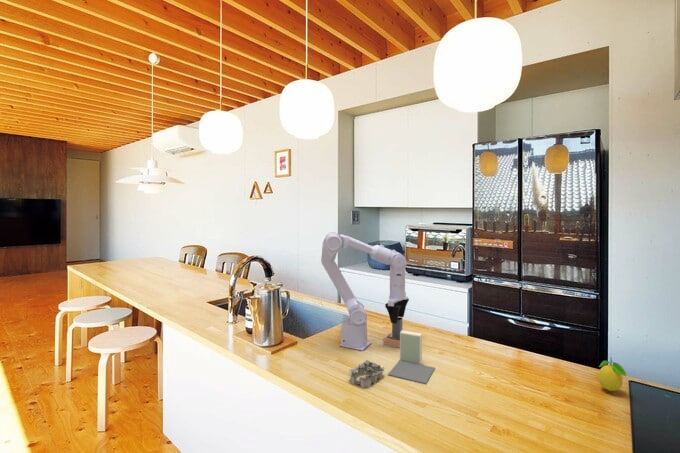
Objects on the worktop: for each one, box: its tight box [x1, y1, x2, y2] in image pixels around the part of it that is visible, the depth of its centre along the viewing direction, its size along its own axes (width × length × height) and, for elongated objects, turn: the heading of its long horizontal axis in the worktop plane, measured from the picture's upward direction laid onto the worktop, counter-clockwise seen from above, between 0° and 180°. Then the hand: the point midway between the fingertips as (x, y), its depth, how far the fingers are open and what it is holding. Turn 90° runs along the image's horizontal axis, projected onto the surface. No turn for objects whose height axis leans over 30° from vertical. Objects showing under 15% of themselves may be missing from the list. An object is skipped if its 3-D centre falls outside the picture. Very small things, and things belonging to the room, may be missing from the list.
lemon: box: [597, 357, 628, 392], centre depth 100 cm, size 7×6×10 cm
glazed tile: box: [399, 329, 423, 365], centre depth 119 cm, size 7×2×10 cm, turn 62°
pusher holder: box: [382, 332, 400, 349], centre depth 135 cm, size 6×9×2 cm
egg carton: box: [348, 359, 385, 389], centre depth 109 cm, size 11×8×4 cm
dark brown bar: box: [388, 317, 403, 340], centre depth 134 cm, size 3×6×10 cm, turn 61°
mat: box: [387, 359, 436, 385], centre depth 113 cm, size 12×11×1 cm
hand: (397, 319), depth 134 cm, fingers open, 7 cm apart
